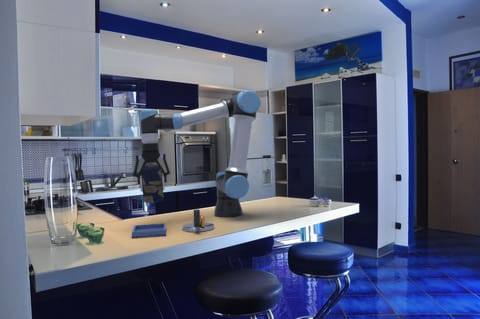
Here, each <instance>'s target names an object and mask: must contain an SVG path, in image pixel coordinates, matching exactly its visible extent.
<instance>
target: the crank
mask: <svg viewBox="0 0 480 319" xmlns="http://www.w3.org/2000/svg"><path fill="white" fill-rule="evenodd" d="M200 210H201V209H193V223H194V227H195V229H200V216H201V211H200Z"/></svg>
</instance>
